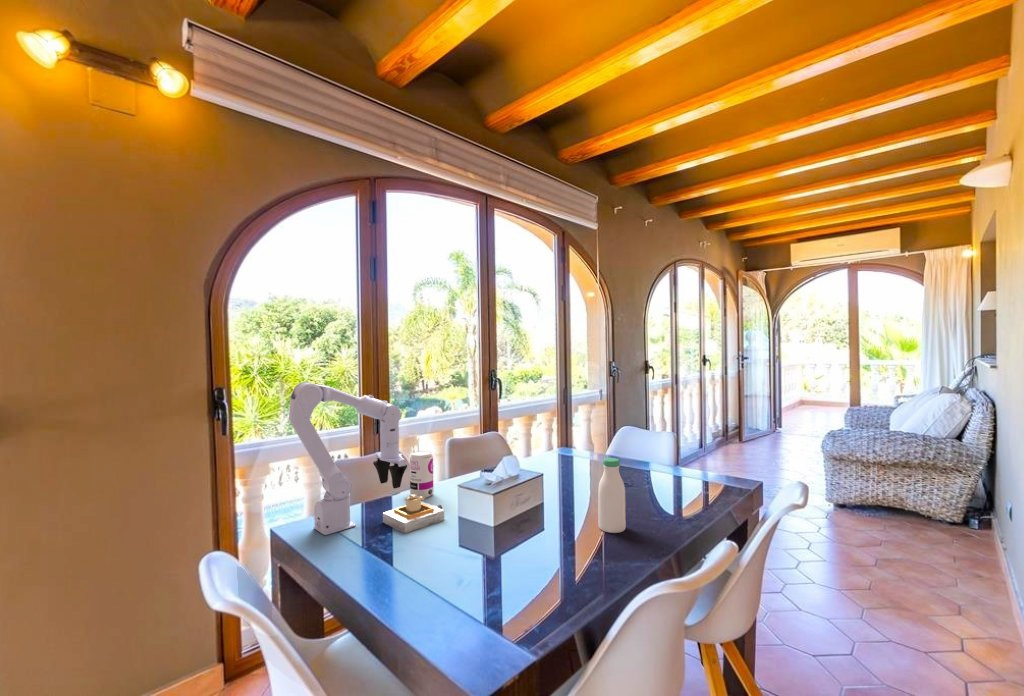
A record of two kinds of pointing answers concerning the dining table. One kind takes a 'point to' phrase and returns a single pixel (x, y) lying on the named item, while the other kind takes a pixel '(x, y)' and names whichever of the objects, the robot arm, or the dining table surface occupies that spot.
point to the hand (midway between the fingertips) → (390, 485)
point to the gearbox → (413, 517)
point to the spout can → (413, 504)
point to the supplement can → (421, 473)
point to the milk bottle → (611, 498)
